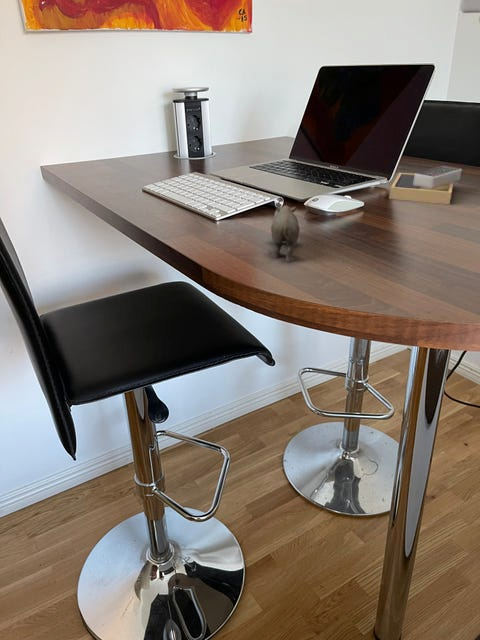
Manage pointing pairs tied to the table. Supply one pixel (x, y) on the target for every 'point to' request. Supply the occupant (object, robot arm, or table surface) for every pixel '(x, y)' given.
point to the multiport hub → (437, 177)
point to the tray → (421, 192)
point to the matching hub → (407, 182)
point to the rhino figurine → (285, 231)
